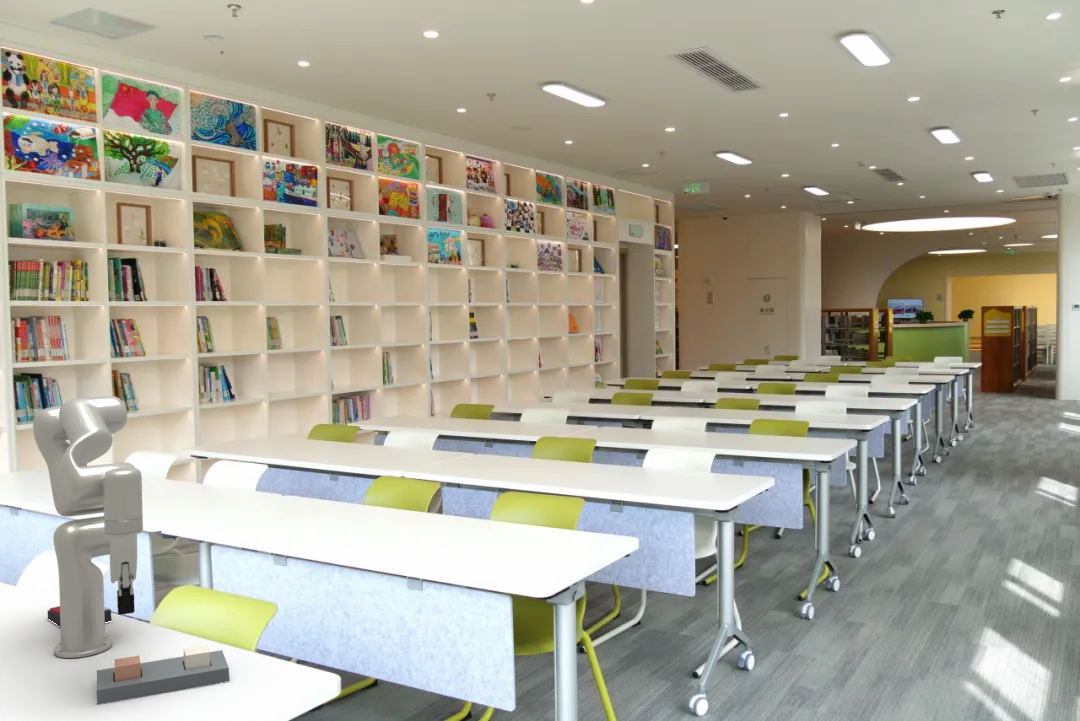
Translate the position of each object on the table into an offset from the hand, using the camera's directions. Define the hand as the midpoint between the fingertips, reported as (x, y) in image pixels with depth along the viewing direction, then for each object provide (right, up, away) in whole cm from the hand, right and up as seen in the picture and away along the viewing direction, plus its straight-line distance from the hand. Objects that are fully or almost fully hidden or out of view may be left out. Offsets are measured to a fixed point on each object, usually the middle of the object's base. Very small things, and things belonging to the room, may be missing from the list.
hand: (125, 609), depth 190 cm
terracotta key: (0, -15, +1) cm, 15 cm away
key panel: (+6, -17, +4) cm, 19 cm away
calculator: (-34, -16, +45) cm, 59 cm away
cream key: (+13, -15, +7) cm, 21 cm away
